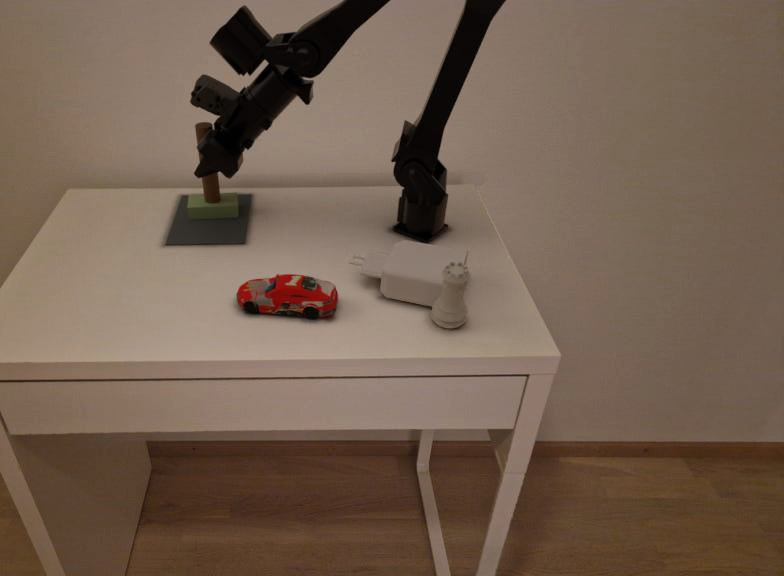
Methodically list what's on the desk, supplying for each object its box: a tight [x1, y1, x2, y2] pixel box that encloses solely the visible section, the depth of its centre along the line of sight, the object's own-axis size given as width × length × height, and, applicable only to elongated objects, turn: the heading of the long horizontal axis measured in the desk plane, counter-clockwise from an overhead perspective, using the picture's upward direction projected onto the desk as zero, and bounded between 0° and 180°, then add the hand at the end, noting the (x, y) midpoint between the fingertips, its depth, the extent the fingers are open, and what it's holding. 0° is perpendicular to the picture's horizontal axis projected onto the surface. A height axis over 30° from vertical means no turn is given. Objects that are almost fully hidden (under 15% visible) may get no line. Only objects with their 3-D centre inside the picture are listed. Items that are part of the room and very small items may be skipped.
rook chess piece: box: [430, 261, 471, 330], centre depth 71 cm, size 4×4×8 cm
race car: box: [236, 273, 339, 320], centre depth 76 cm, size 13×5×4 cm, turn 80°
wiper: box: [187, 121, 239, 220], centre depth 93 cm, size 8×4×14 cm, turn 95°
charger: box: [348, 239, 469, 308], centre depth 79 cm, size 5×9×15 cm
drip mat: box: [164, 193, 252, 246], centre depth 96 cm, size 17×12×1 cm
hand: (198, 172), depth 93 cm, fingers closed on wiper, 2 cm apart
